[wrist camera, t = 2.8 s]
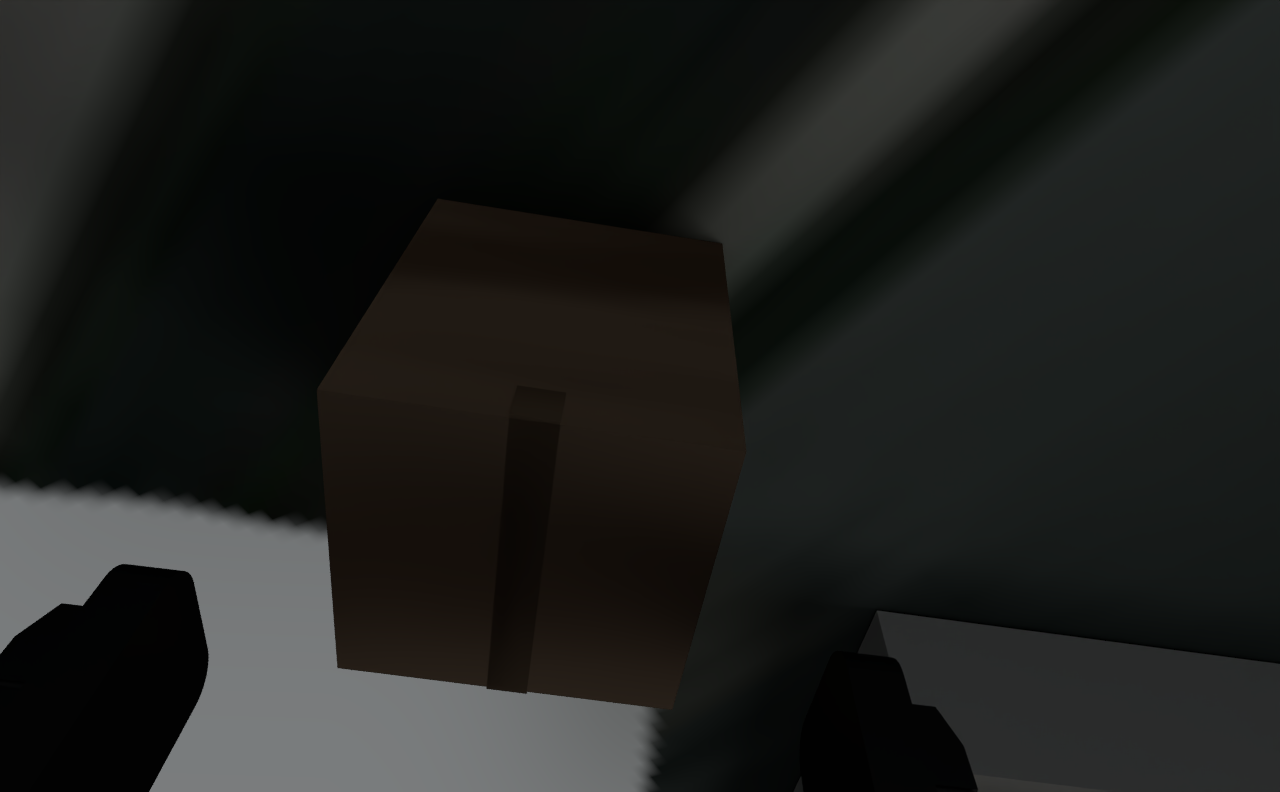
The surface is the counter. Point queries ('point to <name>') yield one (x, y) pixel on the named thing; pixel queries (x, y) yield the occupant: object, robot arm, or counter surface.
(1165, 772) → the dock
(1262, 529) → the counter surface
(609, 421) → the block
